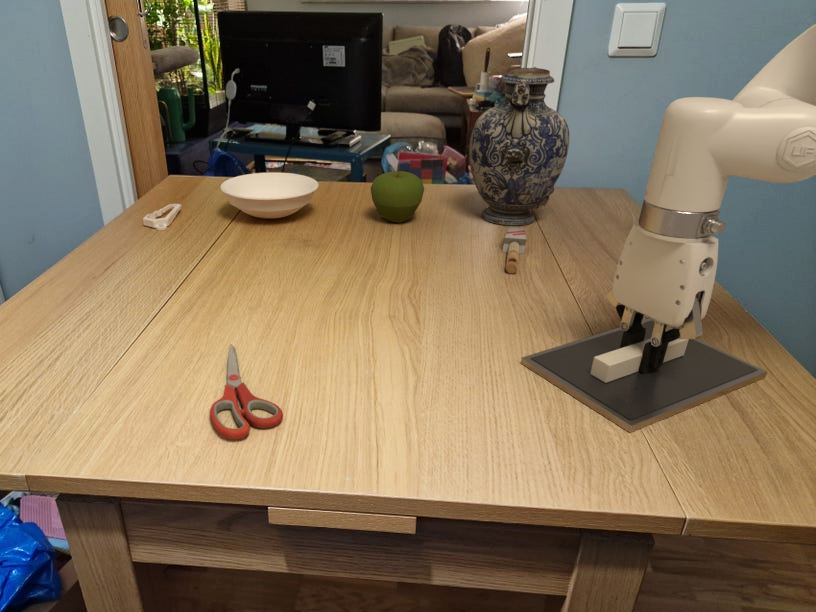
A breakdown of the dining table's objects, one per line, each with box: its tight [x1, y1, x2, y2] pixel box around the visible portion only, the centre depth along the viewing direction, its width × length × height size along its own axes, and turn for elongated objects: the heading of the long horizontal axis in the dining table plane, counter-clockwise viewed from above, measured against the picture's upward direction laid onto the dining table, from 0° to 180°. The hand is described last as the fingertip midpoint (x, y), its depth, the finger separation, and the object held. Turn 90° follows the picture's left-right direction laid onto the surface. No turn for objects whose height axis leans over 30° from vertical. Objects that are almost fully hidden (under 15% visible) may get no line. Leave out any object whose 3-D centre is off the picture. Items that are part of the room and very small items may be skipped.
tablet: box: [520, 317, 768, 433], centre depth 82 cm, size 24×17×1 cm
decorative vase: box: [468, 66, 570, 227], centre depth 129 cm, size 21×19×28 cm
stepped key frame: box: [142, 203, 183, 231], centre depth 134 cm, size 13×5×2 cm, turn 176°
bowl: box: [219, 172, 319, 220], centre depth 136 cm, size 20×20×6 cm
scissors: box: [209, 343, 284, 440], centre depth 78 cm, size 8×21×2 cm, turn 24°
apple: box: [370, 170, 425, 223], centre depth 132 cm, size 11×10×10 cm
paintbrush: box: [501, 226, 527, 274], centre depth 117 cm, size 4×3×20 cm
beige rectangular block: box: [590, 339, 689, 383], centre depth 81 cm, size 14×2×2 cm, turn 118°
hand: (638, 363), depth 82 cm, fingers closed on beige rectangular block, 2 cm apart
